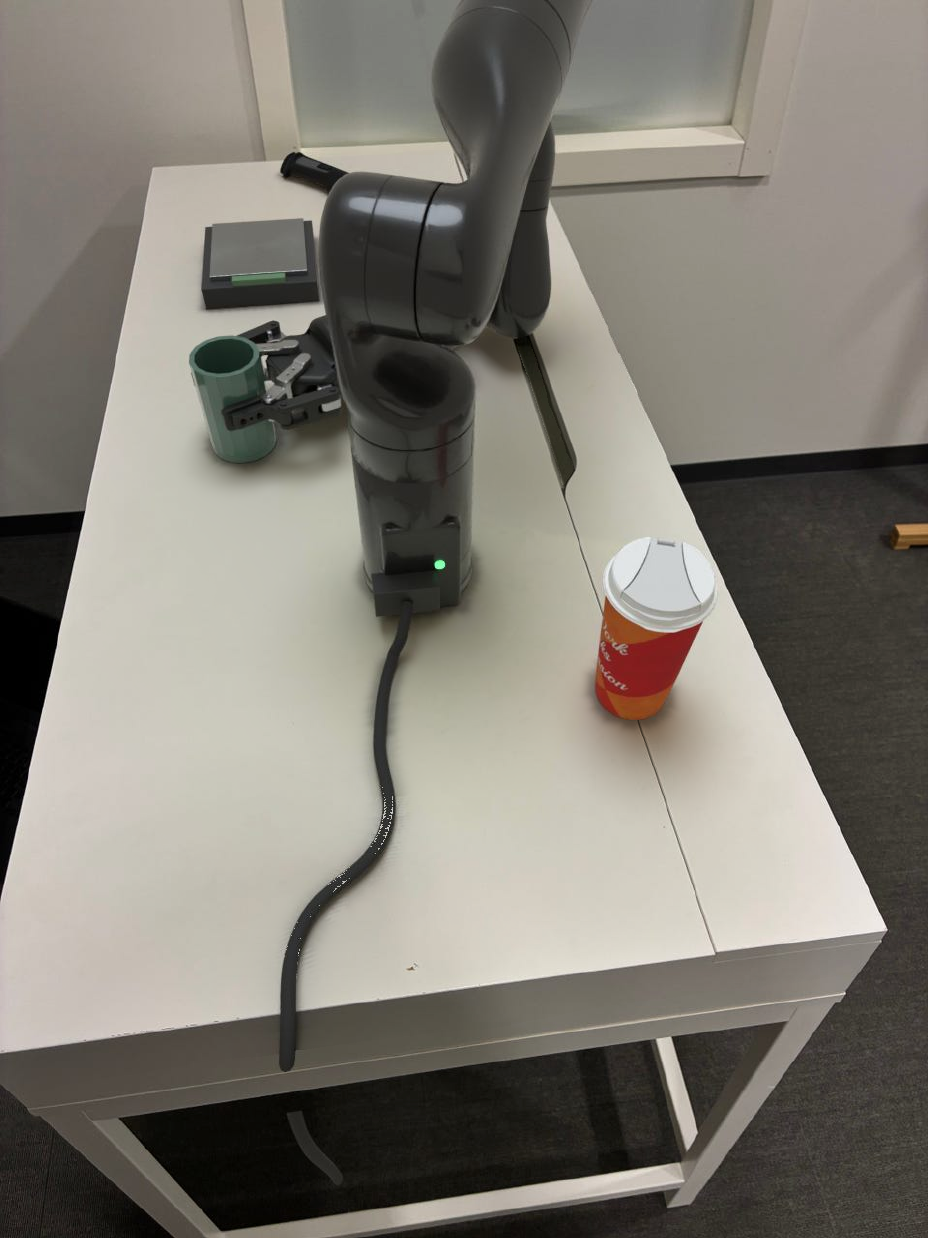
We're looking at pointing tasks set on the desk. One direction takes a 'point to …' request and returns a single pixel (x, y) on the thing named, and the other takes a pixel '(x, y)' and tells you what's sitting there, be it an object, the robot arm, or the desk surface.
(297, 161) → the electric trimmer
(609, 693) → the paper cup
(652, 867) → the desk surface
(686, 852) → the desk surface
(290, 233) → the scale
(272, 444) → the tumbler
